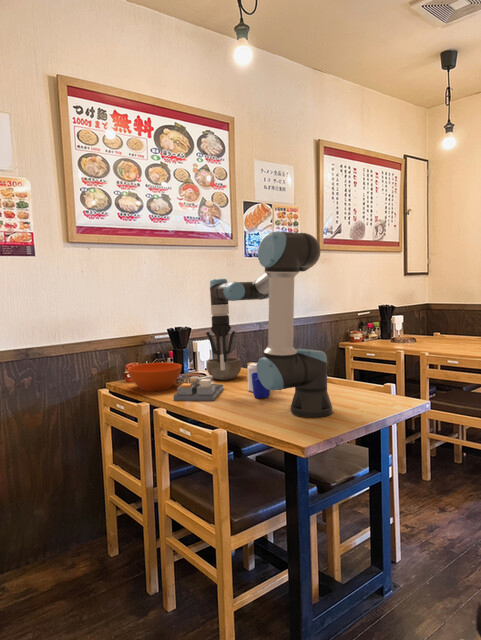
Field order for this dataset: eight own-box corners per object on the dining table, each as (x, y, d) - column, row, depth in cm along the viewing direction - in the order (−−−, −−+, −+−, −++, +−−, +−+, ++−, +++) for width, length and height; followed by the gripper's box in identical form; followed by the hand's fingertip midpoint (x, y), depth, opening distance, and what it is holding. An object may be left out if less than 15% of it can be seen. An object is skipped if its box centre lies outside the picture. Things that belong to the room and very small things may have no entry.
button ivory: (209, 389, 192) (209, 380, 192) (200, 389, 193) (200, 380, 192) (211, 387, 196) (211, 379, 196) (202, 387, 196) (202, 379, 196)
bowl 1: (150, 380, 235) (149, 361, 234) (192, 384, 224) (191, 363, 223) (117, 391, 212) (116, 370, 212) (162, 395, 201) (161, 373, 201)
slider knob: (197, 389, 201) (196, 378, 201) (190, 389, 202) (190, 378, 201) (199, 387, 205) (198, 376, 204) (192, 387, 205) (192, 376, 205)
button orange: (189, 393, 193) (189, 385, 193) (181, 393, 194) (180, 385, 194) (192, 391, 197) (191, 383, 197) (183, 391, 198) (183, 383, 198)
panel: (213, 400, 189) (213, 388, 189) (173, 400, 192) (173, 388, 192) (223, 388, 211) (223, 378, 211) (187, 388, 214) (187, 378, 213)
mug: (246, 401, 187) (245, 377, 187) (255, 394, 199) (255, 371, 198) (265, 402, 184) (265, 378, 184) (273, 395, 196) (273, 372, 195)
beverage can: (244, 391, 206) (243, 364, 205) (256, 387, 211) (255, 362, 211) (258, 393, 200) (257, 366, 199) (269, 390, 206) (269, 363, 205)
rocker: (211, 378, 207) (210, 376, 207) (194, 382, 208) (194, 379, 208) (212, 377, 210) (212, 375, 210) (196, 380, 211) (195, 378, 211)
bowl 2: (210, 375, 245) (210, 356, 244) (243, 375, 243) (243, 356, 242) (203, 381, 228) (203, 362, 227) (239, 382, 226) (238, 361, 225)
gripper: (236, 314, 199) (239, 368, 200) (207, 315, 201) (209, 369, 202) (233, 314, 192) (236, 370, 193) (203, 316, 194) (206, 371, 195)
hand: (222, 369), depth 197 cm, fingers closed
